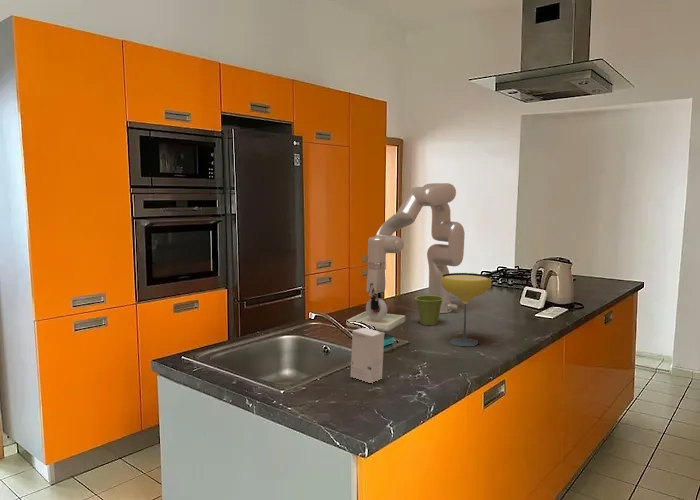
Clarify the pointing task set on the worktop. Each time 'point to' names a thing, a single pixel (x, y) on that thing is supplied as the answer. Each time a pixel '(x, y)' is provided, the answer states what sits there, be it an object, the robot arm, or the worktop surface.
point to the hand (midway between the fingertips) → (376, 308)
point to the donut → (380, 314)
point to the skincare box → (367, 355)
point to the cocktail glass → (465, 295)
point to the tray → (378, 321)
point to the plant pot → (429, 309)
